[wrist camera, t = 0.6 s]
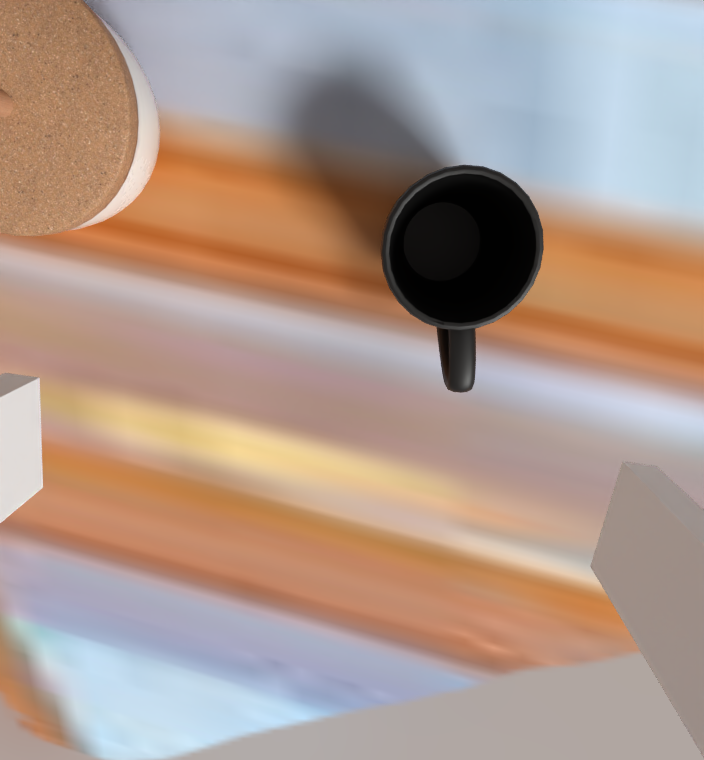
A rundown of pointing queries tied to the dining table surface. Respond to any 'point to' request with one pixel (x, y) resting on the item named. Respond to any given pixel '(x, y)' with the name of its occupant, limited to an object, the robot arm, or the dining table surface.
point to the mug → (461, 257)
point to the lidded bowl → (69, 119)
